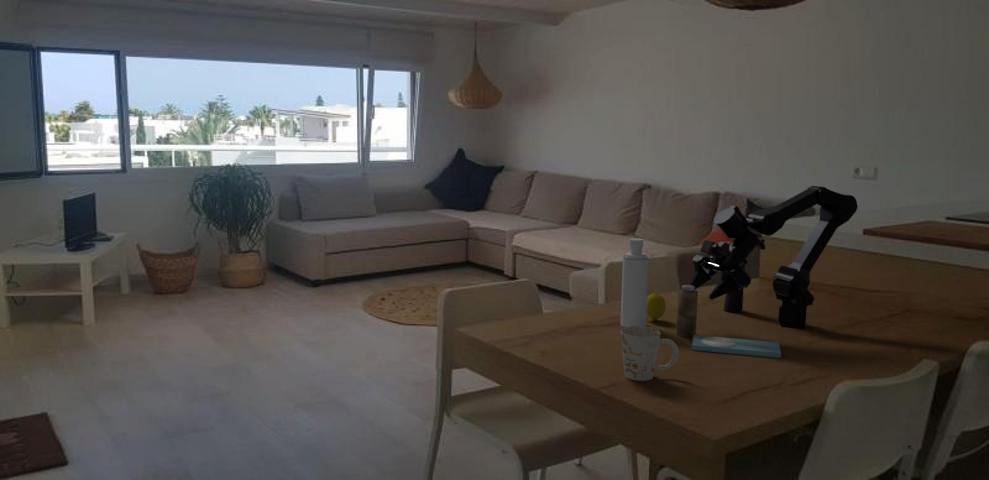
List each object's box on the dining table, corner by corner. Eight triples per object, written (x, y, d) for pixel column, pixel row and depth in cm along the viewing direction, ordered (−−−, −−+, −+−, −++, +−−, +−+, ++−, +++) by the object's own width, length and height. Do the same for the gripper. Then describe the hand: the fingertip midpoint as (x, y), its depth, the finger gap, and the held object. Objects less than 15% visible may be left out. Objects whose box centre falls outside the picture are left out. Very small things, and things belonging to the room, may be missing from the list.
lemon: (665, 323, 204) (666, 295, 202) (644, 322, 205) (645, 293, 204) (664, 318, 209) (666, 290, 208) (644, 317, 210) (645, 289, 209)
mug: (615, 370, 165) (616, 326, 164) (671, 369, 166) (673, 325, 165) (624, 383, 157) (626, 337, 155) (683, 382, 158) (685, 336, 157)
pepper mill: (696, 333, 195) (698, 285, 193) (695, 338, 191) (697, 289, 189) (677, 331, 196) (679, 283, 194) (675, 336, 192) (678, 287, 190)
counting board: (778, 347, 183) (778, 341, 183) (780, 358, 175) (781, 352, 175) (693, 339, 189) (693, 334, 189) (691, 349, 181) (692, 344, 180)
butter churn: (725, 316, 213) (730, 217, 208) (707, 307, 222) (712, 213, 217) (754, 314, 215) (760, 216, 210) (735, 306, 224) (741, 212, 219)
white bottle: (633, 321, 206) (637, 230, 202) (651, 326, 201) (655, 233, 197) (615, 324, 203) (618, 232, 199) (632, 330, 197) (636, 235, 193)
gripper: (700, 224, 201) (661, 267, 199) (744, 234, 183) (702, 281, 182) (723, 252, 205) (685, 294, 203) (768, 264, 187) (728, 310, 185)
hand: (699, 294), depth 193 cm, fingers open, 9 cm apart
